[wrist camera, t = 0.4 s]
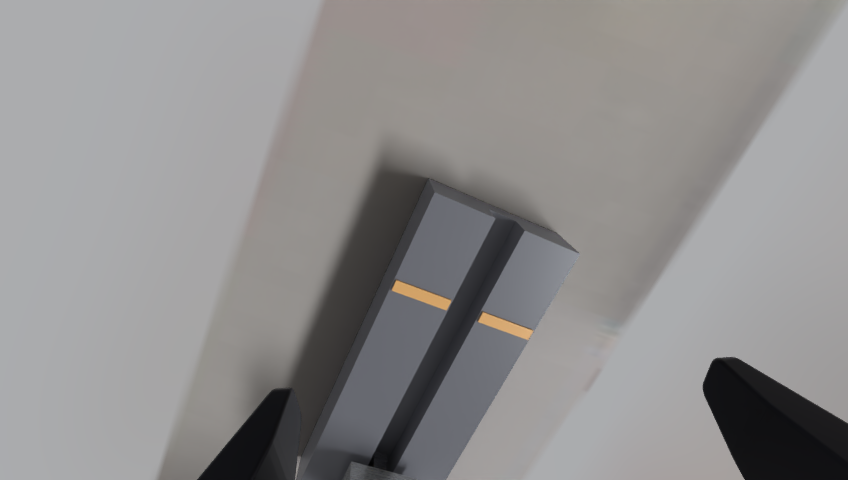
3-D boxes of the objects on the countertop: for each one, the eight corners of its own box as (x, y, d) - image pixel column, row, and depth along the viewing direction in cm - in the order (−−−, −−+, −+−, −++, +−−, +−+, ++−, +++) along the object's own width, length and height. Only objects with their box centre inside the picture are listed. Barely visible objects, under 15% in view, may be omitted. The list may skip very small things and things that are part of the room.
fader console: (413, 487, 31) (416, 530, 28) (301, 457, 29) (291, 500, 26) (558, 233, 25) (580, 254, 22) (428, 178, 23) (434, 193, 20)
